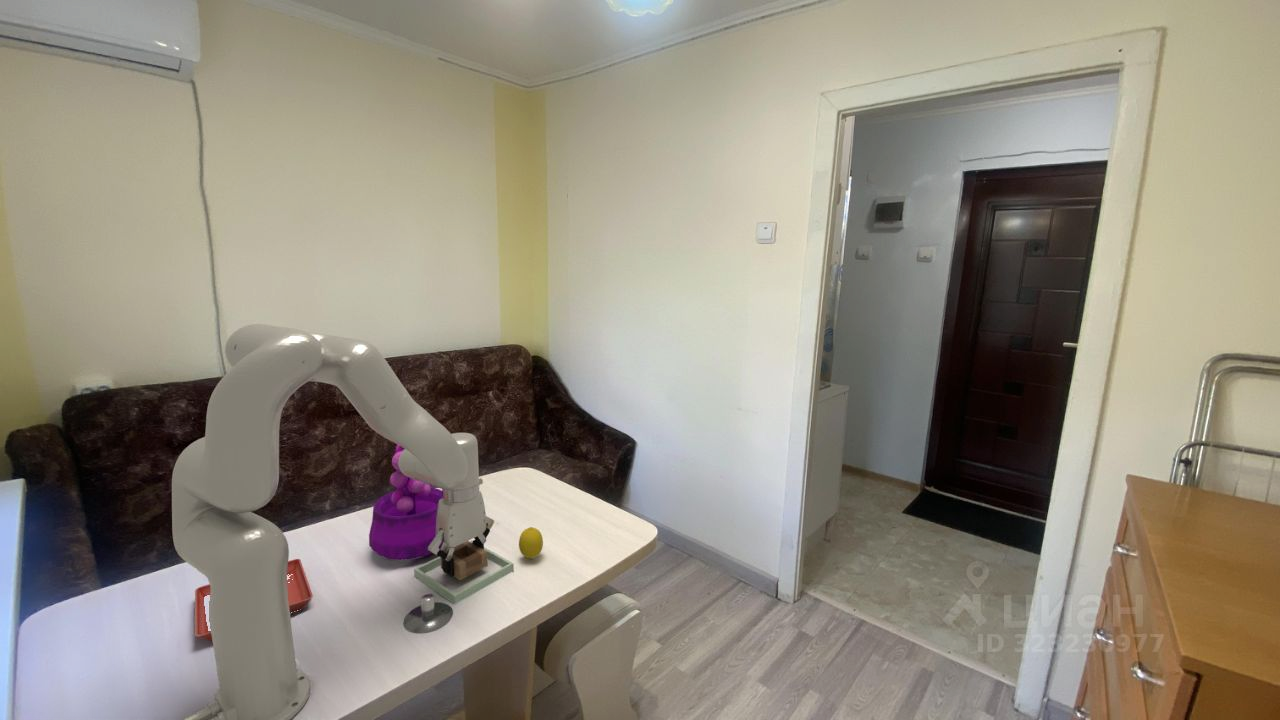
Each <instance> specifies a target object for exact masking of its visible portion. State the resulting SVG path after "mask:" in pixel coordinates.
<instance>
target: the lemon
mask: <svg viewBox="0 0 1280 720" xmlns="http://www.w3.org/2000/svg"><path fill="white" fill-rule="evenodd" d="M543 546H544V539H543V535H542V533H541V531H540V530H539V529H537V528H536V527H532V526H530V527H527V528H525V529H524V530H523V531H522V533H521V534H520V536H519V540H518V547H519V548H518V549H519V552H520V553H521V555H522V556H524V557H525V558H528V559H530V560H533V558H536V557H538V556H539V555H540V553H541V552H542V550H543Z"/></svg>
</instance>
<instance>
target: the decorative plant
mask: <svg viewBox="0 0 1280 720" xmlns="http://www.w3.org/2000/svg"><path fill="white" fill-rule="evenodd" d="M404 449H405V448H403V447H401V446H400V445H398V444H396V448H395V453H394V455H393V456H392V459H391V464H392V466H393V469H395V470H396V471H394V472H392V474H390V478H389V483H390V485H392V486H393V487H394V488H396V490H394V491H391V492H389V493H386V494H384V495H383V496H381V497H380V498H379V499H377V500H376V501H375V502H374V505H373V506H372V507H373V508H372V519H371V525H370V529H369V533H368V545H369V547H370V549H371V550H372V552H374V553H375V554H376V555H378V556H380V557H382V558H384V559H386V560H393V561H408V560H409V561H410V560H415V559H419V558H423V557H427V556H428V555H431V554H433V553H432V552H431V551H429V550H428V547H429V545H430V544H431V542H432V541H433V540H434V538H435V537H436V515H437V508H438V503H439V500H440V499H442V498H443V497H442V489H440V488H438V487H433V486H432V487H431V485H429V484H427V483H423V482H420V481H417V480H414V479H411V478H409V477H407V476H405V475H404V474H403V473H402V472H401V470H400V468H399V465H398V461H399V457H400V455H401V453H402V452H403V451H404ZM442 545H443V542H441V544H440V545H439V547H438V548H439V549H440V550H441V547H442Z"/></svg>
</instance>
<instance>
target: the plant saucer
mask: <svg viewBox="0 0 1280 720" xmlns="http://www.w3.org/2000/svg"><path fill="white" fill-rule="evenodd" d="M302 563H303V562H302V560H301V559H300V558H293V559H291V560H288V567H287V575H288V574H289V575H291V574H293V575H291V576H290V577H289V578H290V579H288V580H287V593H288V602H289V609H290V613H291V612H294V611H297V610H300V609H301V610H303V609H304V608H305V607H306V606H307V605H308V604H309V603H310V601H311V600H312V599H313V597H314V594H313V591H312V590H311V587H310V586H311V585H310V584H309V581H308V577H307V574H306V572H305V568H304V567H303V564H302ZM289 575H288V576H289ZM292 579H293V580H292ZM288 582H290V583H288ZM210 594H211V587H210V583H209V584H206V585H203V586H199V587H198V588H195V590H194V606H195V607H194V609H195V611H194V621H195V622H194V623H195V624H194V626H195V627H194V631H195V632H194V636H195V637H197V638H199V639H201V640H204V641H205V640H206V641H212V634H211V631H208V626H207V622H206V614H205V606H204V597H205V596H207V595H210ZM302 608H303V609H302ZM301 610H300V611H301ZM297 612H298V611H297ZM294 613H295V612H294ZM291 614H292V613H291Z"/></svg>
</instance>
